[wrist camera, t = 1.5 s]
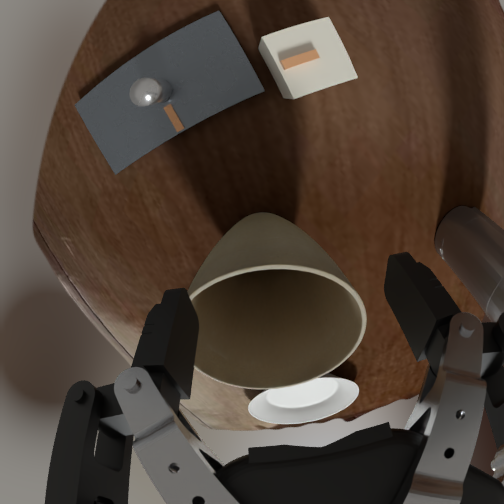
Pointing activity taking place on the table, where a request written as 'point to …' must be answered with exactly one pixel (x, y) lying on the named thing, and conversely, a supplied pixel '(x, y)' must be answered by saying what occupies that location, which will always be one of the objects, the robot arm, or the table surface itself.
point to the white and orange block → (306, 58)
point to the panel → (168, 90)
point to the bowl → (304, 400)
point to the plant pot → (272, 307)
